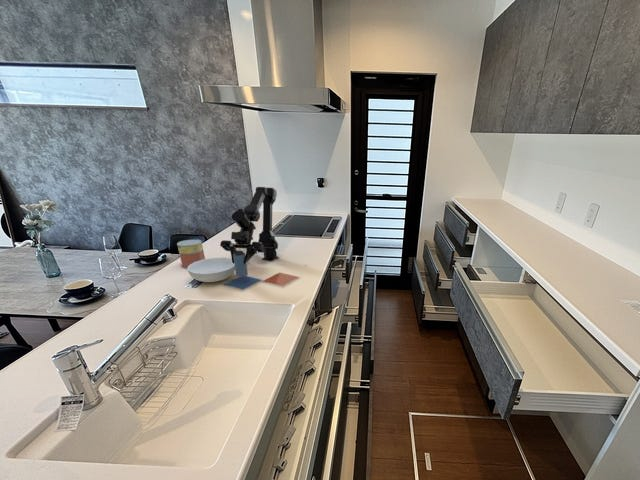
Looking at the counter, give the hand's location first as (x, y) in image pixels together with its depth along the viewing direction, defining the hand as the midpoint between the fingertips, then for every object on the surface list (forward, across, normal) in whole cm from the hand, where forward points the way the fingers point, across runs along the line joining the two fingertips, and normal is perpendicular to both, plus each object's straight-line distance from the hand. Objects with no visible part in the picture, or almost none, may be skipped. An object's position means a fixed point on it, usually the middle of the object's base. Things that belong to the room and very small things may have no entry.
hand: (238, 263), depth 136 cm
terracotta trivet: (+2, +16, +12) cm, 20 cm away
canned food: (-8, -36, +22) cm, 43 cm away
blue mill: (+3, 0, +5) cm, 6 cm away
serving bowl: (+4, -16, +11) cm, 20 cm away
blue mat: (+6, 0, +8) cm, 10 cm away
